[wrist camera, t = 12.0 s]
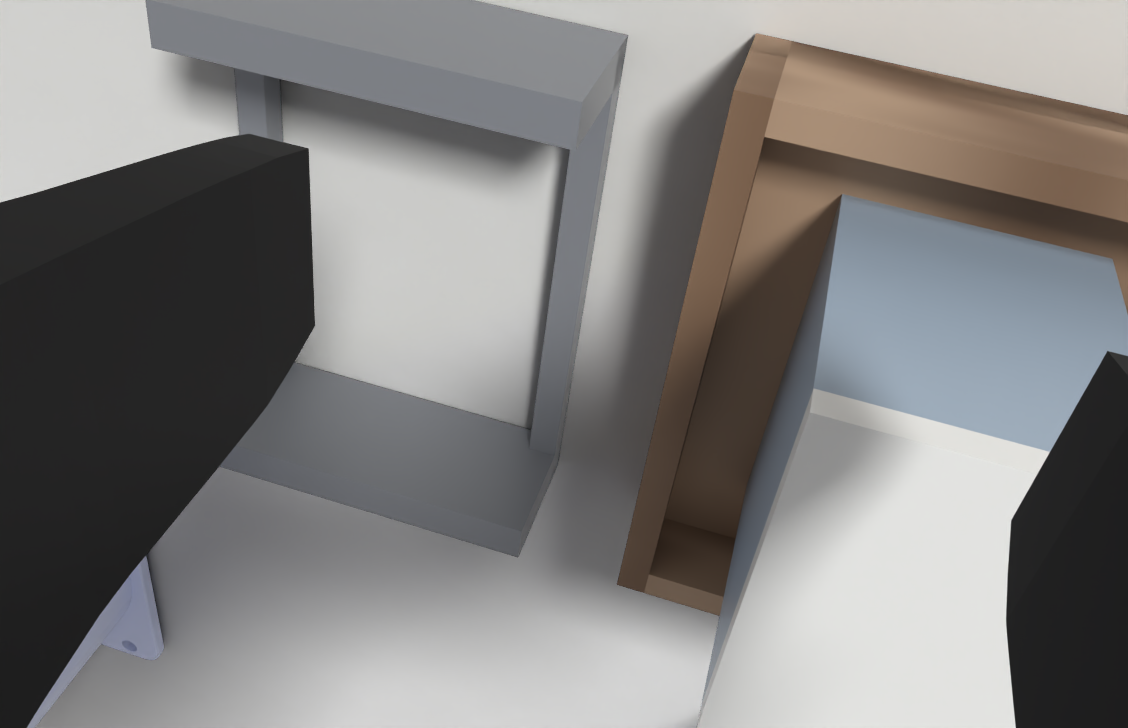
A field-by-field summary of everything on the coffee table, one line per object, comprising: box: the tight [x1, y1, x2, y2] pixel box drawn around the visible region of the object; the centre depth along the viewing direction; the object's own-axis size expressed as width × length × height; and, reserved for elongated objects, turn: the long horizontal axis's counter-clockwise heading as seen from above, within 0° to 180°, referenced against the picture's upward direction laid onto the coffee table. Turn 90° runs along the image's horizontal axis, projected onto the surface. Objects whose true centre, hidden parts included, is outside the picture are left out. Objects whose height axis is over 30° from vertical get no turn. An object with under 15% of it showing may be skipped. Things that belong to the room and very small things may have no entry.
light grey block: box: [697, 194, 1128, 728], centre depth 17 cm, size 4×7×6 cm, turn 172°
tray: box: [617, 33, 1128, 616], centre depth 19 cm, size 9×11×2 cm
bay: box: [146, 0, 628, 557], centre depth 20 cm, size 7×10×3 cm
